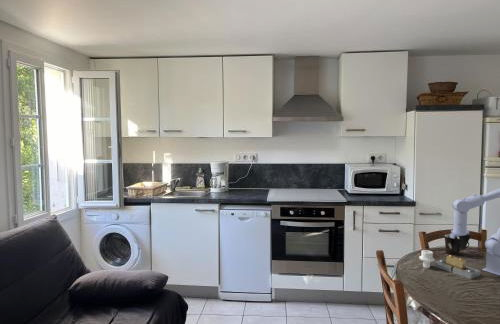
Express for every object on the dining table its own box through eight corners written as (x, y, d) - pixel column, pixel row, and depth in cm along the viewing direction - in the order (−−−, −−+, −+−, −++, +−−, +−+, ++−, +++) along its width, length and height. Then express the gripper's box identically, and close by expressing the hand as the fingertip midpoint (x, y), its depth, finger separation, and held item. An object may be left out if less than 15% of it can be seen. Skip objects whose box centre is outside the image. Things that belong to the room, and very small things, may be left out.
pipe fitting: (430, 264, 183) (430, 249, 182) (435, 269, 176) (436, 254, 175) (417, 264, 184) (418, 249, 183) (422, 269, 177) (423, 253, 176)
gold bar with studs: (465, 273, 172) (466, 259, 172) (462, 274, 171) (462, 260, 170) (449, 267, 179) (449, 254, 178) (445, 268, 177) (446, 255, 177)
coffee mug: (440, 252, 202) (441, 235, 201) (450, 250, 206) (451, 233, 205) (459, 258, 192) (460, 241, 191) (469, 256, 195) (470, 239, 194)
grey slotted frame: (479, 275, 169) (480, 269, 169) (470, 279, 165) (471, 272, 164) (443, 263, 184) (443, 258, 184) (434, 266, 180) (434, 260, 180)
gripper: (459, 220, 182) (458, 245, 184) (444, 223, 175) (442, 250, 176) (474, 223, 176) (472, 249, 178) (458, 226, 169) (457, 254, 170)
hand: (458, 250), depth 176 cm, fingers open, 7 cm apart
